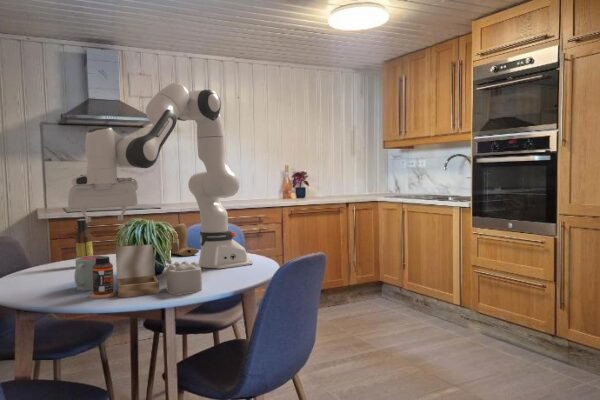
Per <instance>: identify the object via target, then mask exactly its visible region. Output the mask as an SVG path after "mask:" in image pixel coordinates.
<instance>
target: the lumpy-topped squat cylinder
mask: <svg viewBox="0 0 600 400" xmlns="http://www.w3.org/2000/svg"><path fill="white" fill-rule="evenodd" d="M165 271H166V290H167V292H168V293H170V294H172V295H185V294H192V293H199V292H201V291H202V290H203V284H202V283H203V282H202V267H200V266H198V262H196V261H193V262H191V263H189V262H188V261H186V260H185V261H183V262H181V263H179V262H177V261H176V262H174V263H173V264H168V267H166V269H165Z"/></svg>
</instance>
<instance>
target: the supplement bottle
mask: <svg viewBox="0 0 600 400" xmlns="http://www.w3.org/2000/svg"><path fill="white" fill-rule="evenodd" d="M101 256H102V257H96V263H95V264H94V265H93V290H92V292H93V293H94V294H98V295H103V294H109V293H112V292H113V290H114V288H115V287H114V264H113V263H111V260H110V256H105V255H101Z"/></svg>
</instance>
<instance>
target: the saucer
mask: <svg viewBox="0 0 600 400" xmlns="http://www.w3.org/2000/svg"><path fill="white" fill-rule="evenodd" d="M116 295H117V291H116V290H114V289H113V292H112V293H109V294H103V295H98V294H94V293H93V291H92V292H90V293H89V298H90V299H95V300H97V299H98V300H100V299H107V298H112V297H114V296H116Z"/></svg>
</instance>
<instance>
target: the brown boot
mask: <svg viewBox="0 0 600 400" xmlns="http://www.w3.org/2000/svg"><path fill="white" fill-rule="evenodd" d="M170 226H172V227H173V228H174V229H175V231H176V232H177V234H178V239H179V250H178V246H177V243H173V245H172V249H171V248H170V250H171V253H170V254H173V255H178V256H184V257H189V256H194V255H196V254H198V253H200V250H199V249H197V248H193V247H189V246H188V245H187V244H188V243H187V241H188V240H187V239H188V230H187V229H188V228H187V225H186V224H185V223H184V222H183V223H175V224H172V225H170Z"/></svg>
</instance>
